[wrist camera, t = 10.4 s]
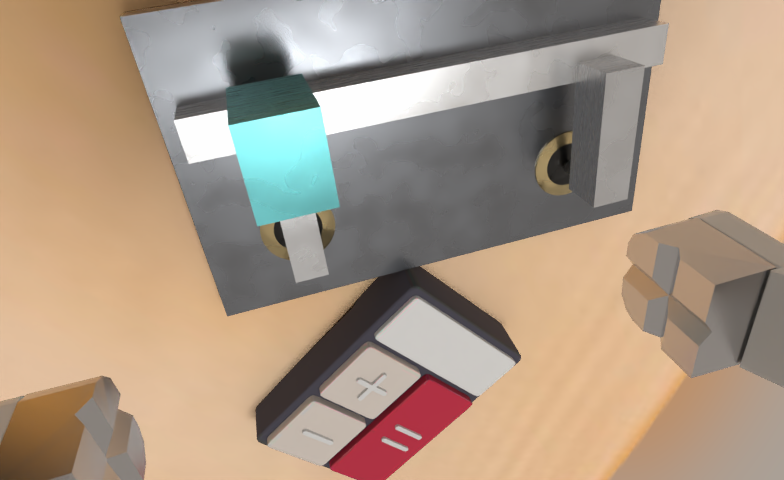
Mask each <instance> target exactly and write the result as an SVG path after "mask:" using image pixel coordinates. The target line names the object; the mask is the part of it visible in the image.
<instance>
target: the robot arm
mask: <svg viewBox="0 0 784 480" xmlns="http://www.w3.org/2000/svg"><path fill="white" fill-rule="evenodd" d="M626 256H627V257H628V259H629V260H630V261H631V262H632V264H633V265H632V266H631V268H630V269H629V271H628V272H627V273H626V275H625V276H624V277H623V285H622V297H623V300H624V304H625V308H626V310H627V312H628V313H629V315H630V317H631V318H632V320H633V321H634V322H635V323H636V324H637V325H638V326H639V327H640V328H641V329H642V330H643V331H645V332H647V333H650V334H653V335H655V336H658V337H660V338H661V349H662V350H663V351H664V352H665V353H666V354H667V355H668V356H669V357H670V358H671V359H672V360H673V361H674V362H675V363H676V364H677V365H678V366H679V367H680V368H681V369H682V370H683V371H684V372H685V373H686V374H687V375H688V376H689V377H690V378H693V377H697V376H700V375H704V374H707V373H710V372H714V371H717V370H720V369H724V368H728V367H731V366H735V365H738V364H740V367H741V368H743V369H745V370H748V371H750V372H752V373H754V374H756V375H758V376H760V377H762V378H765V379H767V380H769V381H771V382H773V383H775V384H777V385H780V386H782V387H784V244H783V243H781V242H779V241H777V240H776V239H774V238H772V237H771V236H769V235H767V234H765V233H764V232H762V231H760V230H759V229H757V228H755V227H753V226H752V225H750V224H748V223H747V222H745V221H743V220H741V219H740V218H738V217H736V216H735V215H733V214H731V213H729V212H726V211H720V210H715V211H712V212H708V213H705V214H702V215H698V216H695V217H691V218H689V219H688V220H683V221H680V222H676V223H672V224H669V225H665V226H661V227H658V228H654V229H651V230H647V231H643V232H640V233H636V234H634V235H633V236H632V238H631V239H630V241H629V243H628V249H627V255H626ZM119 399H120V393H119V391H118V389H117V388H116V386H115V385H114V383H113V382H112V380H111V378H108V377H104V376H100V377H95V378H91V379H87V380H83V381H79V382H75V383H71V384H67V385H63V386H59V387H55V388H51V389H46V390H42V391H38V392H34V393H30V394H27V395H25V396H20V397H16V398H12V399H8V400H4V401H0V480H144V474H145V465H146V459H145V449H144V441H143V438H142V435H141V432H140V428H139V426H138V424H137V422H136V421H135V419H134V417H133V415H131V414H128V413H126V412H124V411H121V410H119V409H118V404H119Z"/></svg>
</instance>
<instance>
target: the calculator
mask: <svg viewBox="0 0 784 480" xmlns="http://www.w3.org/2000/svg"><path fill="white" fill-rule="evenodd" d="M520 359H521V355H520V354H519V352H518V350H517V349H516V347H515V345H514V344H513V342H512V340H511V339H510V337H509V336H508V334H507V332H506V331H505V329H504V327H503V326H502V324H501V323H499V322H498V321H497V320H495V319H494V318H492V317H491V316H490V315H488V314H487V313H485V312H484V311H482V310H481V309H480V308H478V307H477V306H475V305H474V304H473V303H471V302H470V301H468V300H467V299H465V298H464V297H463V296H461V295H460V294H458V293H457V292H456V291H454V290H453V289H451V288H450V287H448V286H447V285H446V284H444V283H443V282H441V281H440V280H438V279H437V278H436V277H434V276H433V275H431V274H430V273H429V272H427V271H426V270H424V269H423V268H421V267H420V266H418V267H414V268H410V269H406V270H403V271H399V272H395V273H391V274H387V275H383V276H380V277H378V278H377V279H376V280H375V281H374V282H373V283H372V284H371V285H370V286H369V287H368V289H367V290H366V291H365V292H364V293H363V294H362V295H361V296H360V297H359V298H358V299H357V301H356V302H355V304H354V306H353V308H352V309H351V310H350V311H349V312H348V313H347V314H346V315H345V316H344V317H343V318H342V319H341V320H340V321H339V322H338V323H337V324H336V325H335V326H334V327H333V328H332V329H331V330H330V331H329V332H328V333H327V334H326V335H325V336H324V337H323V338H322V339H321V340H320V341H319V342H318V343H317V344H316V345H315V346H314V347H313V348H312V349H311V350H310V351H309V352H308V353H307V354H306V355H305V356H304V357H303V358H302V359H301V360H300V361H299V362H298V363H297V364H296V365H295V367H294V368H293V369H292V370H291V371H290V372H289V373H288V374H287V375H286V376H285V377H284V378H283V379H282V380H281V381H280V382H279V384H278V385H277V386H276V387H275V388H274V389H273V390H272V391H271V392H270V393H269V394H268V395H267V396H266V397H265V398H264V400H263V401H262V402H261V403H260V404H259V405H258V406H257V407H256V428H257V440H258V442H260V443H262V444H265V445H268V447H270V448H272V449H275V450H278V451H280V452H283V453H286V454H289V455H291V456H294V457H297V458H299V459H302V460H305V461H308V462H310V463H313V464H316V465H319V466H325V467H327V468H330V469H331V470H332V471H335V472H338V473H340V474H343V475H346V476H348V477H351V478H354V479H357V480H386V479H387V478H388V477H389V476H390V475H392V474H393V473H394V472H395V471H396V470H397V469H399V468H400V467H401V466H402V465H403V464H404V463H405V462H407V461H408V460H409V459H410V458H411V457H412V456H414V455H415V454H416V453H417V452H418V451H419V450H421V449H422V448H423V447H424V446H425V445H426V444H428V443H429V442H430V441H431V440H432V439H433V438H435V437H436V436H437V435H438V434H439V433H440V432H441V431H443V430H444V429H445V428H446V427H447V426H448V425H450V424H451V423H452V422H453V421H454V420H455V419H457V418H458V417H459V416H460V415H461V414H462V413H464V412H465V411H466V410H467V409H468V408H469V407H470V406H471V405H472V402H473V401H474V400H475V399H476V398H477V397H479V396H480V395H481V394H482V393H483V392H485V391H486V390H487V389H488V388H489V387H490V386H492V385H493V384H494V383H495V382H496V381H497V380H499V379H500V378H501V377H502V376H503V375H504V374H505V373H507V372H508V371H509V370H510V369H511V368H512V367H513V366H515V365H516V364H517V363H518V362H519V361H520Z"/></svg>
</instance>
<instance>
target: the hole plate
mask: <svg viewBox="0 0 784 480" xmlns="http://www.w3.org/2000/svg"><path fill="white" fill-rule="evenodd" d="M660 3H661V0H196V1H190V2H184V3H177V4H171V5H165V6H159V7H152V8H146V9H140V10H134V11H128V12H124V13H123V14H122V15H121V16H120V19H121V22H122V25H123V28H124V30H125V33H126V36H127V39H128V41H129V44H130V47H131V50H132V53H133V55H134V58H135V61H136V64H137V66H138V69H139V72H140V75H141V78H142V80H143V83H144V86H145V89H146V91H147V94H148V97H149V100H150V103H151V105H152V108H153V111H154V114H155V116H156V119H157V122H158V125H159V128H160V130H161V133H162V136H163V139H164V141H165V144H166V147H167V150H168V153H169V155H170V158H171V161H172V164H173V166H174V169H175V172H176V175H177V177H178V180H179V183H180V186H181V189H182V191H183V194H184V197H185V200H186V202H187V205H188V208H189V211H190V214H191V216H192V219H193V222H194V225H195V227H196V230H197V233H198V236H199V239H200V241H201V244H202V247H203V250H204V252H205V255H206V258H207V261H208V264H209V266H210V269H211V272H212V275H213V277H214V280H215V283H216V286H217V289H218V291H219V294H220V297H221V300H222V302H223V305H224V308H225V311H226V313H227V316H230V315H234V314H238V313H242V312H246V311H249V310H253V309H257V308H261V307H265V306H269V305H272V304H276V303H280V302H284V301H288V300H292V299H295V298H299V297H303V296H307V295H311V294H315V293H318V292H322V291H326V290H330V289H334V288H337V287H341V286H345V285H349V284H353V283H357V282H360V281H364V280H368V279H372V278H376V277H380V276H383V275H387V274H391V273H395V272H399V271H403V270H406V269H410V268H414V267H418V266H422V265H426V264H429V263H433V262H437V261H441V260H445V259H448V258H452V257H456V256H460V255H464V254H468V253H471V252H475V251H479V250H483V249H487V248H491V247H494V246H498V245H502V244H506V243H510V242H514V241H517V240H521V239H525V238H529V237H533V236H537V235H540V234H544V233H548V232H552V231H556V230H559V229H563V228H567V227H571V226H575V225H579V224H582V223H586V222H590V221H594V220H598V219H602V218H605V217H609V216H613V215H617V214H621V213H625V212H628V211H632V205H633V198H634V191H635V184H636V177H637V169H638V162H639V155H640V148H641V140H642V133H643V126H644V119H645V111H646V104H647V97H648V90H649V82H650V75H651V68H652V66H656V65H661V64H663V59H664V52H665V45H666V39H667V32H668V25H669V23H665V22H661V21H658V17H659V10H660ZM301 73H302V75H303V77H304V78H305V80H306V82H307V84H308V85H309V87H310V89H311V91H312V92H313V94H314V96H315V98H316V99H317V101H318V103H319V105H320V106H321V110H322V116H323V121H324V126H325V131H326V137H327V142H328V147H329V152H330V158H331V163H332V168H333V173H334V179H335V184H336V189H337V194H338V200H339V205H340V207H338V208H334V209H330V210H326V211H321V212H317V213H316V218H317V222H318V227H319V231H320V236H321V240H322V245H323V250H324V254H325V259H326V263H327V268H328V272H329V275H325V276H321V277H317V278H314V279H310V280H306V281H302V282H298V283H296V281H295V277H294V273H293V269H292V266H291V262H290V258H289V254H288V250H287V246H286V243H285V239H284V235H283V231H282V227H281V223H280V221H279V222H275V223H270V224H266V225H262V226H258V227H257V224H256V220H255V217H254V213H253V210H252V206H251V203H250V199H249V196H248V192H247V189H246V186H245V182H244V179H243V175H242V172H241V168H240V165H239V161H238V158H237V154H236V151H235V147H234V144H233V141H232V137H231V134H230V130H229V127H228V115H227V100H226V88H227V87H233V86H238V85H243V84H248V83H254V82H259V81H264V80H270V79H275V78H280V77H285V76H291V75H296V74H301Z"/></svg>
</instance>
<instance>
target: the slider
mask: <svg viewBox="0 0 784 480" xmlns="http://www.w3.org/2000/svg"><path fill="white" fill-rule="evenodd" d="M226 100H227V115H228V127H229V130H230V134H231V137H232V141H233V144H234V147H235V151H236V154H237V158H238V161H239V165H240V168H241V172H242V175H243V179H244V182H245V186H246V189H247V192H248V196H249V199H250V203H251V206H252V210H253V213H254V217H255V220H256V224H257V227H258V226H262V225H266V224H270V223H275V222H279V221H280V223H281V227H282V231H283V235H284V239H285V243H286V246H287V250H288V254H289V258H290V262H291V266H292V269H293V273H294V277H295V281H296V283H298V282H302V281H306V280H310V279H314V278H317V277H321V276H325V275H329V272H328V268H327V263H326V259H325V254H324V250H323V245H322V240H321V236H320V231H319V227H318V222H317V218H316V213H317V212H321V211H326V210H330V209H334V208H338V207H340V205H339V200H338V194H337V189H336V184H335V179H334V173H333V168H332V163H331V158H330V152H329V147H328V142H327V137H326V131H325V126H324V121H323V116H322V110H321V106H320V105H319V103H318V101H317V99H316V98H315V96H314V94H313V92H312V91H311V89H310V87H309V85H308V84H307V82H306V80H305V78H304V77H303V75H302V73H301V74H296V75H291V76H285V77H280V78H275V79H270V80H264V81H259V82H254V83H248V84H243V85H238V86H233V87H227V88H226Z"/></svg>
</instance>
